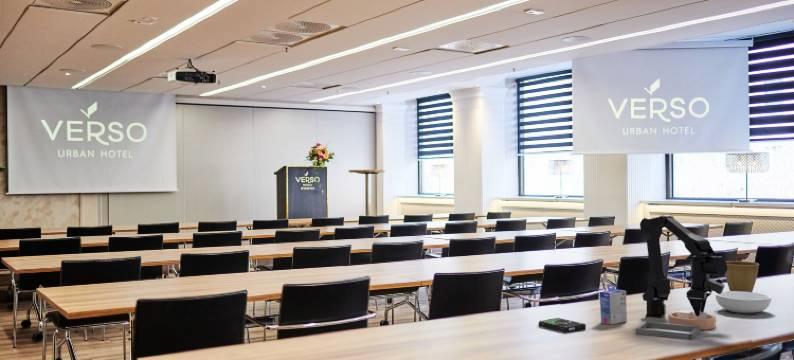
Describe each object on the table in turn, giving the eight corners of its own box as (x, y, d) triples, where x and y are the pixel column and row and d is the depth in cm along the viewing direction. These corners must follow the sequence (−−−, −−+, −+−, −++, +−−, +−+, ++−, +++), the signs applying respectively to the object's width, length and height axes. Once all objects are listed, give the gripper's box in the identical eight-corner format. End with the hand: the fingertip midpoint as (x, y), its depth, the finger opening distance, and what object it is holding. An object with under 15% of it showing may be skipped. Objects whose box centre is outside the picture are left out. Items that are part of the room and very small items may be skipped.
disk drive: (586, 331, 268) (557, 324, 280) (586, 323, 268) (557, 317, 280) (566, 335, 262) (537, 327, 275) (566, 327, 262) (537, 320, 275)
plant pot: (720, 298, 332) (720, 263, 332) (727, 294, 344) (726, 260, 344) (756, 301, 324) (756, 265, 324) (761, 296, 336) (761, 262, 336)
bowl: (664, 326, 272) (664, 317, 272) (674, 319, 285) (673, 310, 285) (711, 331, 263) (711, 321, 263) (718, 323, 277) (718, 314, 277)
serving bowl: (716, 314, 294) (716, 297, 294) (714, 306, 314) (714, 290, 314) (773, 317, 287) (773, 300, 287) (768, 308, 306) (768, 292, 306)
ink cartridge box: (616, 319, 286) (615, 283, 286) (627, 321, 281) (627, 284, 281) (599, 322, 280) (599, 285, 280) (610, 325, 276) (610, 287, 276)
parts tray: (635, 333, 260) (635, 328, 260) (645, 326, 273) (645, 321, 273) (692, 339, 250) (691, 334, 250) (699, 331, 263) (699, 326, 263)
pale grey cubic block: (692, 324, 272) (692, 313, 272) (694, 322, 276) (694, 311, 276) (705, 325, 270) (705, 314, 270) (707, 323, 273) (707, 312, 273)
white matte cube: (677, 322, 275) (676, 312, 275) (679, 320, 279) (679, 310, 279) (689, 323, 273) (689, 313, 273) (691, 321, 276) (691, 311, 276)
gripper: (718, 276, 260) (719, 320, 260) (726, 271, 276) (726, 311, 276) (686, 275, 266) (686, 317, 266) (695, 269, 282) (695, 309, 282)
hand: (699, 314), depth 272 cm, fingers open, 9 cm apart
